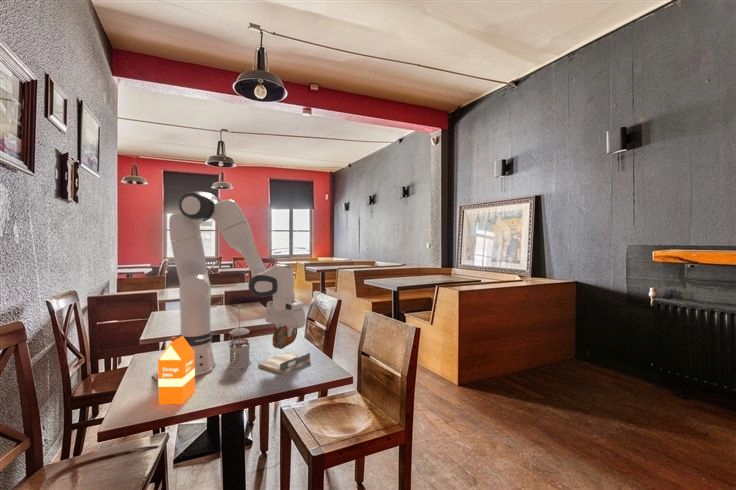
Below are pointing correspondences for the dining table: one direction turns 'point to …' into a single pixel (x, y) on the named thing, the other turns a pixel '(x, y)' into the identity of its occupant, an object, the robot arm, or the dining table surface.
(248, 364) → the french press
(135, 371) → the dining table surface
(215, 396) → the dining table surface
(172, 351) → the orange juice
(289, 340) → the oval plaque
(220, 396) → the dining table surface
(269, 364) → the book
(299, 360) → the price rail
